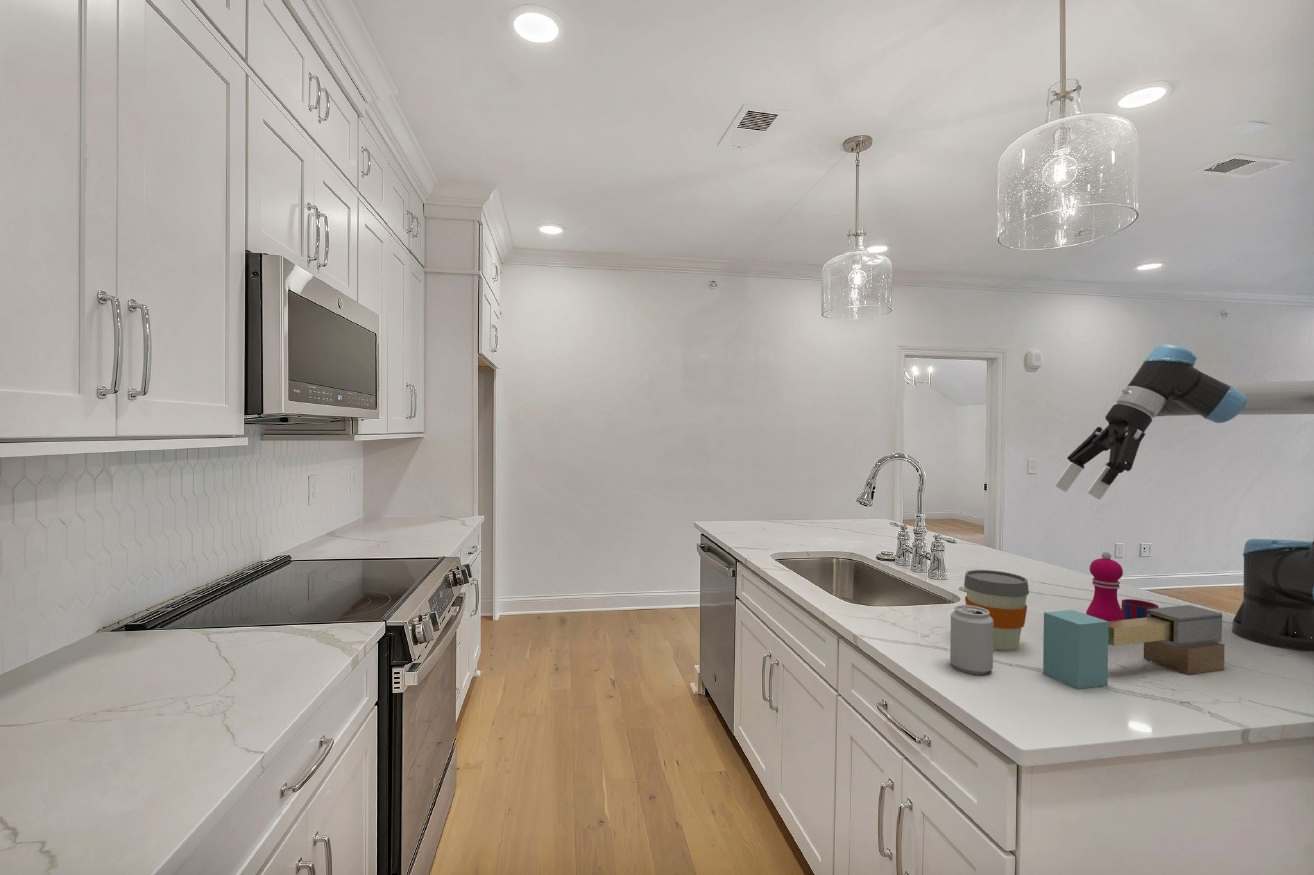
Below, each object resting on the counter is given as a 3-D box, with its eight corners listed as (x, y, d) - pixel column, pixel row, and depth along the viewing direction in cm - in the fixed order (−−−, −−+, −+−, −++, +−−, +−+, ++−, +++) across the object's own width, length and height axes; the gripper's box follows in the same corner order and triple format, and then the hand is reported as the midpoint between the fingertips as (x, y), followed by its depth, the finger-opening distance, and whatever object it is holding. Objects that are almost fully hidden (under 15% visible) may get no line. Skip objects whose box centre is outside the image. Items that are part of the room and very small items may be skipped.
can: (992, 679, 109) (992, 617, 109) (948, 670, 113) (949, 610, 113) (993, 665, 115) (994, 606, 115) (951, 657, 119) (952, 600, 119)
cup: (1133, 625, 140) (1133, 597, 140) (1181, 639, 130) (1182, 610, 130) (1114, 628, 138) (1114, 600, 138) (1162, 643, 128) (1162, 613, 128)
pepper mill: (1110, 633, 134) (1112, 549, 134) (1133, 645, 127) (1134, 555, 126) (1078, 632, 135) (1079, 548, 134) (1098, 643, 127) (1100, 555, 127)
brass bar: (1198, 627, 120) (1198, 611, 120) (1218, 633, 116) (1218, 617, 116) (1096, 639, 113) (1096, 622, 113) (1113, 646, 109) (1114, 628, 109)
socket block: (1070, 669, 114) (1071, 609, 113) (1107, 685, 107) (1108, 621, 106) (1043, 672, 112) (1043, 612, 112) (1078, 689, 105) (1079, 624, 105)
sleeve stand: (1182, 653, 122) (1182, 603, 122) (1227, 669, 114) (1228, 615, 114) (1140, 659, 119) (1140, 607, 119) (1183, 675, 111) (1184, 619, 111)
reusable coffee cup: (1038, 656, 120) (1039, 585, 120) (973, 650, 123) (974, 581, 123) (1014, 635, 132) (1015, 571, 132) (956, 630, 135) (957, 568, 135)
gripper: (1086, 404, 138) (1034, 477, 140) (1155, 400, 113) (1091, 489, 116) (1115, 420, 137) (1062, 494, 139) (1192, 419, 112) (1126, 509, 115)
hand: (1075, 492), depth 127 cm, fingers open, 13 cm apart
